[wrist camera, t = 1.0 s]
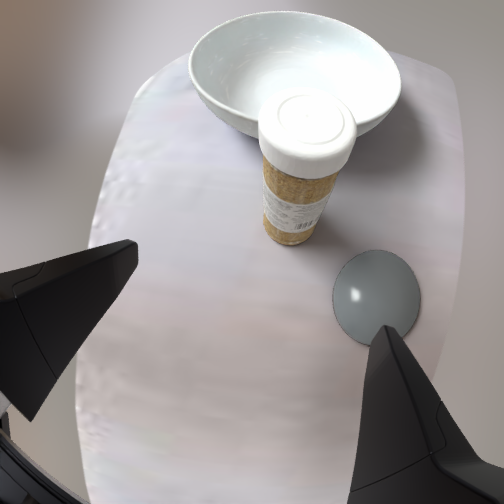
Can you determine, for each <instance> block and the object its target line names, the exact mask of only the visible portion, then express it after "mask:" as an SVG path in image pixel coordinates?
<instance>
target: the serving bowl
mask: <svg viewBox="0 0 504 504" xmlns="http://www.w3.org/2000/svg"><path fill="white" fill-rule="evenodd" d="M188 72H189V76H190V79H191V81H192V84H193V86H194V88H195V89H196V91H197V93H198V95H199V97H200V98H201V100H202V101H203V102H204V104H205V105H206V106H207V107H208V108H209V109H210V110H211V111H212V112H213V113H214V114H215V115H216V116H217V117H218V118H219V119H221V120H222V121H223V122H225V123H226V124H228V125H230V126H231V127H233V128H235V129H236V130H238V131H240V132H243V133H245V134H247V135H249V136H252V137H254V138H257V139H259V131H258V119H259V113H260V110H261V108H262V106H263V105H264V103H265V102H266V101H267V100H268V99H269V98H270V97H271V96H273V95H274V94H276V93H278V92H280V91H283V90H286V89H289V88H297V87H307V88H314V89H318V90H322V91H325V92H327V93H329V94H332V95H333V96H335V97H337V98H338V99H340V100H341V101H342V102H343V103H344V104H345V105H346V106H347V107H348V108H349V109H350V111H351V112H352V114H353V116H354V118H355V121H356V125H357V137H358V136H361V135H363V134H364V133H366V132H368V131H370V130H371V129H372V128H374V127H375V126H377V125H378V124H379V123H380V122H381V121H382V120H383V119H384V118H385V117H386V116H387V115H388V114H389V113H390V111H391V110H392V109H393V107H394V106H395V105H396V103H397V101H398V99H399V97H400V94H401V88H402V83H401V76H400V73H399V70H398V68H397V66H396V64H395V62H394V61H393V59H392V58H391V56H390V55H389V54H388V53H387V52H386V50H385V49H384V48H383V47H382V46H381V45H380V44H378V43H377V42H376V41H375V40H374V39H372V38H371V37H369V36H368V35H366V34H365V33H363V32H361V31H360V30H358V29H356V28H354V27H352V26H350V25H348V24H345V23H343V22H340V21H337V20H334V19H331V18H328V17H324V16H320V15H316V14H310V13H303V12H292V11H274V12H262V13H255V14H250V15H245V16H242V17H239V18H235V19H232V20H230V21H228V22H225V23H223V24H221V25H219V26H217V27H215V28H214V29H212V30H211V31H209V32H208V33H207V34H205V35H204V36H203V37H202V38H201V39H200V40H199V41H198V42H197V44H196V45H195V46H194V48H193V50H192V52H191V54H190V57H189V61H188Z"/></svg>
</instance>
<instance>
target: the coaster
mask: <svg viewBox="0 0 504 504" xmlns="http://www.w3.org/2000/svg"><path fill="white" fill-rule="evenodd" d="M419 306H420V291H419V286H418V282H417V279H416V277H415V275H414V273H413V271H412V270H411V268H410V267H409V265H408V264H407V263H406V262H405V261H404V260H403V259H401V258H400V257H398V256H397V255H395V254H393V253H390V252H387V251H383V250H371V251H367V252H364V253H361V254H359V255H358V256H356V257H354V258H353V259H352V260H351V261H349V262H348V263H347V264H346V265H345V266H344V267H343V269H342V270H341V271H340V273H339V275H338V277H337V279H336V282H335V285H334V288H333V309H334V313H335V316H336V319H337V321H338V323H339V325H340V326H341V328H342V329H343V330H344V331H345V333H346V334H347V335H349V336H350V337H351V338H352V339H354V340H356V341H358V342H360V343H362V344H366V345H370V344H371V341H372V339H373V338H374V336H375V335H376V334H377V332H378V331H379V329H380V328H381V326H382V325H389V326H392V327H394V328H395V329H396V331H397V332H398V333H399V335H400V336H401V337H403V336H404V335H405V334H406V333H407V332H408V331H409V329H410V328H411V327H412V325H413V323H414V321H415V319H416V317H417V314H418V311H419Z"/></svg>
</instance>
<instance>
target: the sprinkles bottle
mask: <svg viewBox="0 0 504 504" xmlns="http://www.w3.org/2000/svg"><path fill="white" fill-rule="evenodd" d="M258 131H259V145H260V148H261V151H262V153H263V205H264V219H263V224H264V226H265V230H266V231H267V233H268V235H269V236H270V237H271V238H272V239H273V240H274V241H276V242H278V243H281V244H284V245H296V244H300V243H302V242H304V241H306V240H307V239H308V238H309V237H310V236H311V235H312V233H313V231H314V228H315V226H316V222H317V221H318V219H319V218H320V216H321V213H322V211H323V209H324V207H325V205H326V203H327V201H328V199H329V196H330V194H331V192H332V190H333V187H334V184H335V180H336V177H337V175H338V172H339V170H340V169H341V168H342V167H343V166H344V165H345V163H346V162H347V160H348V158H349V156H350V153H351V151H352V148H353V146H354V143H355V140H356V137H357V125H356V121H355V118H354V116H353V114H352V112H351V111H350V109H349V108H348V107H347V106H346V105H345V104H344V103H343V102H342V101H341V100H340V99H338V98H337V97H335V96H333V95H332V94H329V93H327V92H325V91H322V90H318V89H314V88H307V87H297V88H289V89H286V90H283V91H280V92H278V93H276V94H274V95H273V96H271V97H270V98H269V99H268V100H267V101H266V102H265V103H264V105H263V106H262V108H261V110H260V113H259V119H258Z"/></svg>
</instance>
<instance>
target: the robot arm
mask: <svg viewBox="0 0 504 504" xmlns="http://www.w3.org/2000/svg"><path fill="white" fill-rule="evenodd" d="M137 265H138V244H137V243H136V242H135V241H132V240H129V239H126V240H122V241H118V242H114V243H110V244H106V245H103V246H99V247H95V248H91V249H88V250H84V251H81V252H77V253H73V254H70V255H66V256H63V257H59V258H56V259H52V260H49V261H47V262H42V263H39V264H35V265H32V266H28V267H25V268H20V269H16V270H12V271H8V272H4V273H0V504H90V503H88V502H87V501H85V500H84V499H82V498H81V497H79V496H78V495H76V494H75V493H74V492H72V491H71V490H69V489H68V488H67V487H65V486H64V485H63V484H61V483H60V482H59V481H57V480H56V479H55V478H53V477H52V476H51V475H50V474H48V473H47V472H46V471H45V470H43V469H42V468H41V467H40V466H39V465H38V464H36V463H35V462H34V461H33V460H32V459H31V458H30V457H29V456H27V455H26V454H25V453H24V452H23V451H22V450H21V449H20V448H19V447H18V446H17V445H16V444H15V443H14V442H13V441H12V440H11V437H10V429H9V418H8V413H7V412H6V410H7V409H8V408H9V406H10V405H11V404H12V405H13V406H14V407H15V408H16V409H17V410H18V411H19V412H20V413H21V414H22V415H23V416H24V417H25V418H26V419H27V420H28V421H30V422H31V421H32V420H33V419H34V417H35V415H36V414H37V412H38V410H39V409H40V407H41V406H42V404H43V402H44V401H45V399H46V398H47V396H48V394H49V393H50V391H51V389H52V388H53V386H54V384H55V383H56V382H57V379H59V377H60V376H61V374H62V373H63V371H64V369H65V368H66V367H67V365H68V364H69V362H70V361H71V359H72V358H73V357H74V355H75V354H76V352H77V351H78V349H79V348H80V347H81V345H82V344H83V342H84V341H85V340H86V338H87V337H88V335H89V334H90V333H91V331H92V330H93V329H94V327H95V326H96V325H97V323H98V322H99V321H100V319H101V318H102V317H103V315H104V314H105V313H106V311H107V310H108V309H109V307H110V306H111V305H112V304H113V302H114V301H115V300H116V298H117V297H118V295H119V294H120V292H121V291H122V289H123V288H124V286H125V284H126V283H127V281H128V280H129V278H130V277H131V275H132V274H133V272H134V270H135V269H136V267H137ZM347 504H504V468H501V467H498V466H495V465H492V464H489V463H487V462H485V461H483V460H482V459H481V458H480V457H478V455H477V454H476V453H475V451H474V450H473V448H472V447H471V445H470V444H469V442H468V441H467V439H466V438H465V436H464V435H463V433H462V432H461V430H460V429H459V427H458V426H457V424H456V423H455V421H454V420H453V418H452V417H451V415H450V413H449V412H448V410H447V408H446V407H445V405H444V403H443V401H441V398H440V397H439V395H438V393H437V392H436V390H435V388H434V387H433V385H432V384H431V382H430V380H429V379H428V377H427V376H426V374H425V373H424V371H423V369H422V368H421V366H420V365H419V363H418V362H417V360H416V359H415V357H414V356H413V354H412V353H411V351H410V350H409V348H408V347H407V345H406V344H405V342H404V341H403V339H402V338H401V336H400V335H399V333H398V332H397V331H396V329H395V328H394V327H392V326H389V325H382V326H381V328H380V329H379V331H378V332H377V334H376V335H375V336H374V338H373V339H372V341H371V344H370V349H369V355H368V362H367V368H366V374H365V380H364V388H363V401H362V412H361V422H360V430H359V438H358V446H357V453H356V459H355V465H354V471H353V477H352V482H351V487H350V493H349V496H348V501H347Z"/></svg>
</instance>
